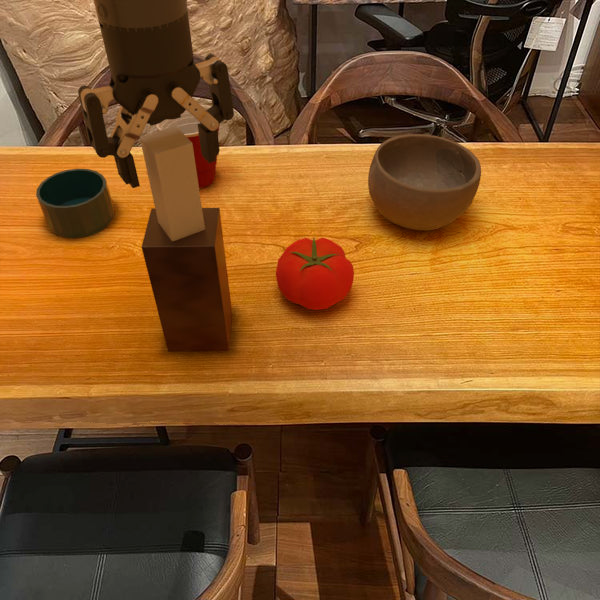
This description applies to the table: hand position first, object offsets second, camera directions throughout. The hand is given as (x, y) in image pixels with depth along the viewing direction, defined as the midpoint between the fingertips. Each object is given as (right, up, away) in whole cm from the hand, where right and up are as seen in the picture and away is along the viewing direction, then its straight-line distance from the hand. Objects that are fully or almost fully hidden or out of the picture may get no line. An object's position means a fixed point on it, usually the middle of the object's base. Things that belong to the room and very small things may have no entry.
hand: (171, 171), depth 61 cm
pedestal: (0, -18, +18) cm, 25 cm away
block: (0, -5, +5) cm, 7 cm away
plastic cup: (-5, +8, +43) cm, 44 cm away
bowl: (+33, +1, +37) cm, 49 cm away
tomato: (+15, -13, +23) cm, 31 cm away
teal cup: (-23, 0, +35) cm, 42 cm away
